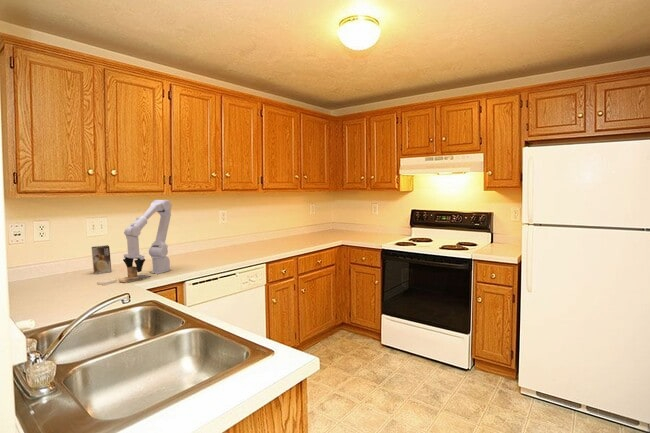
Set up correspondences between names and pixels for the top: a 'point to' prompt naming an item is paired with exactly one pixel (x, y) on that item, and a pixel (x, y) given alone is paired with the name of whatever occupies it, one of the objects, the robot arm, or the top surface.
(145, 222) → the robot arm
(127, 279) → the brown l-shaped block
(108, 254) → the coffee box
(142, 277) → the mat
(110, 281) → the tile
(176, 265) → the top surface
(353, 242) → the top surface
